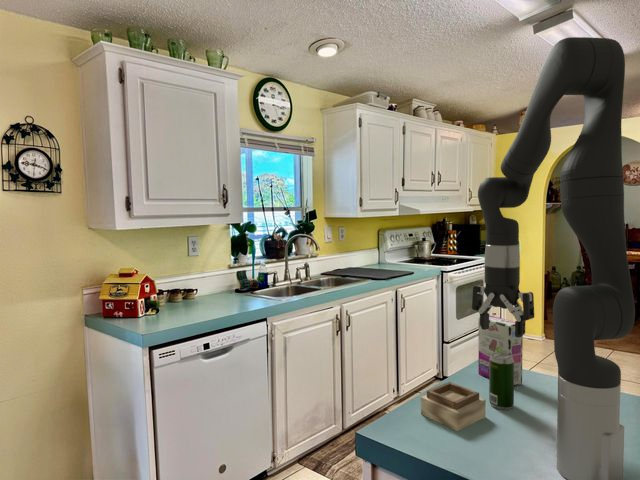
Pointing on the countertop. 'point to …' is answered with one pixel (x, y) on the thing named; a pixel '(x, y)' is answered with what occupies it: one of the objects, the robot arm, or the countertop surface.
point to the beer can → (501, 381)
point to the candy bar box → (500, 345)
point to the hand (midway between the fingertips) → (501, 332)
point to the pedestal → (453, 406)
